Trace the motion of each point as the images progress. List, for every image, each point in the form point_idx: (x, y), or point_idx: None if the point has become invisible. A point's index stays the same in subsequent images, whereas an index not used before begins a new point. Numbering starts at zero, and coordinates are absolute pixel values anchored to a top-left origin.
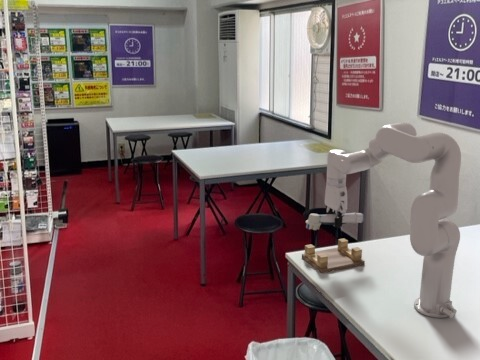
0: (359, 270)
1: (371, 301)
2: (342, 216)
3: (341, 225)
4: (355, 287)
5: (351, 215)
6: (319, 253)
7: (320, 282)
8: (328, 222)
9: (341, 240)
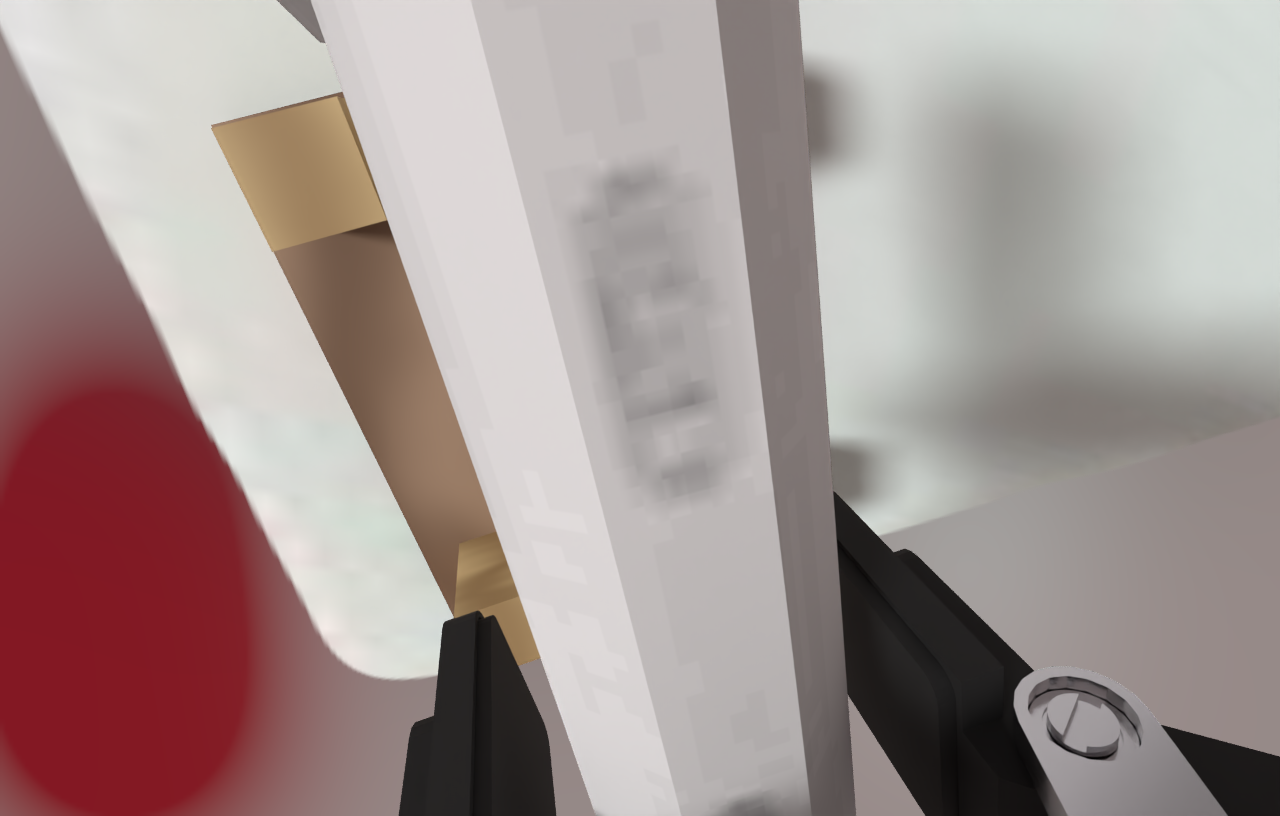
0: (818, 131)
1: (1259, 239)
2: (1202, 753)
3: (839, 509)
4: (1063, 287)
5: (771, 189)
6: (446, 464)
7: (908, 514)
8: (542, 723)
9: (322, 209)
